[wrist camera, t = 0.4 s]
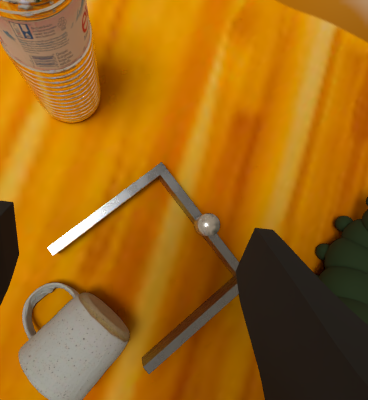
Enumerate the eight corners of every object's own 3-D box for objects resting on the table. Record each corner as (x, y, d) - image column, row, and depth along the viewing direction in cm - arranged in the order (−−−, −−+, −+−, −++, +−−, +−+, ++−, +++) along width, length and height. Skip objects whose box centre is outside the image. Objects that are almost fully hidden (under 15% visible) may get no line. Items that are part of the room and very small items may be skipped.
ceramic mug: (134, 325, 37) (137, 348, 30) (82, 385, 36) (70, 426, 28) (63, 262, 36) (48, 270, 29) (7, 320, 35) (-25, 345, 27)
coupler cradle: (147, 364, 37) (150, 383, 33) (51, 246, 36) (42, 249, 32) (249, 273, 40) (264, 279, 36) (163, 162, 39) (169, 154, 35)
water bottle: (48, 59, 38) (-84, -251, 13) (108, 77, 39) (87, -177, 14) (31, 115, 37) (-145, -106, 12) (92, 132, 38) (42, -39, 13)
